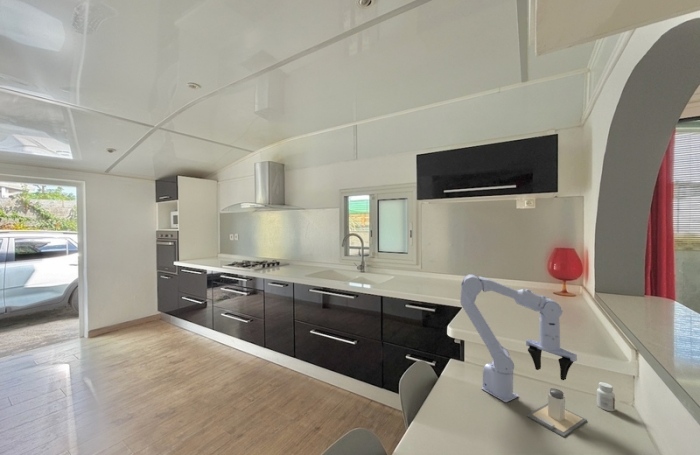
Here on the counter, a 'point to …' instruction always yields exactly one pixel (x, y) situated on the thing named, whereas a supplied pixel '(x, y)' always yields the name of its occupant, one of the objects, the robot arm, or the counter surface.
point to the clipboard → (557, 426)
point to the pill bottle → (605, 397)
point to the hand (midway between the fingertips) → (550, 374)
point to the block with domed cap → (556, 404)
